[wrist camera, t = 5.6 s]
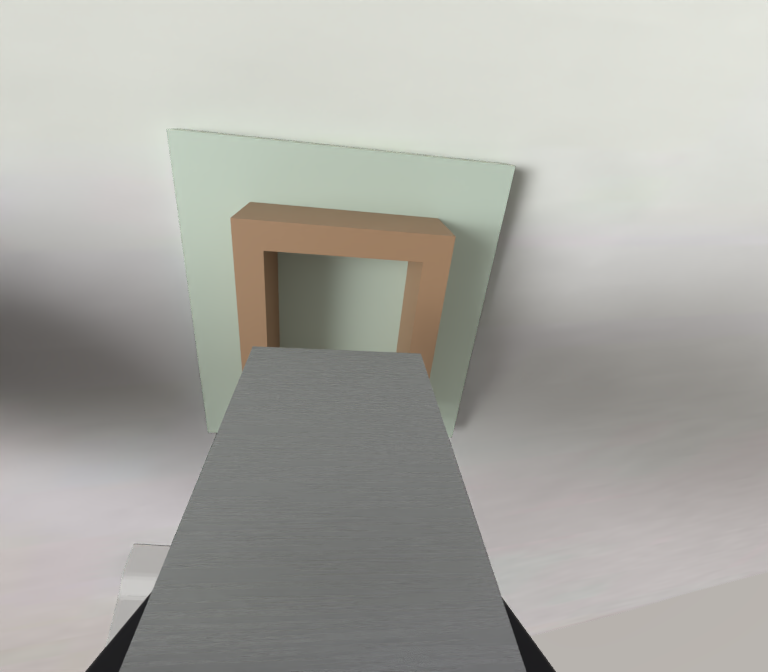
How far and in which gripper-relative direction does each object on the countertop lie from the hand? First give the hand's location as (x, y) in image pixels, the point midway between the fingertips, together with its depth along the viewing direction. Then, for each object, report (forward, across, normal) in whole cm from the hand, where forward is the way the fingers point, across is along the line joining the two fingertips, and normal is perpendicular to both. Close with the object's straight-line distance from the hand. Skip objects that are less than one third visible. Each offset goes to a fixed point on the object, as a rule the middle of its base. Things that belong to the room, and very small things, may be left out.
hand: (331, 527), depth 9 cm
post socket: (+12, 0, 0) cm, 12 cm away
